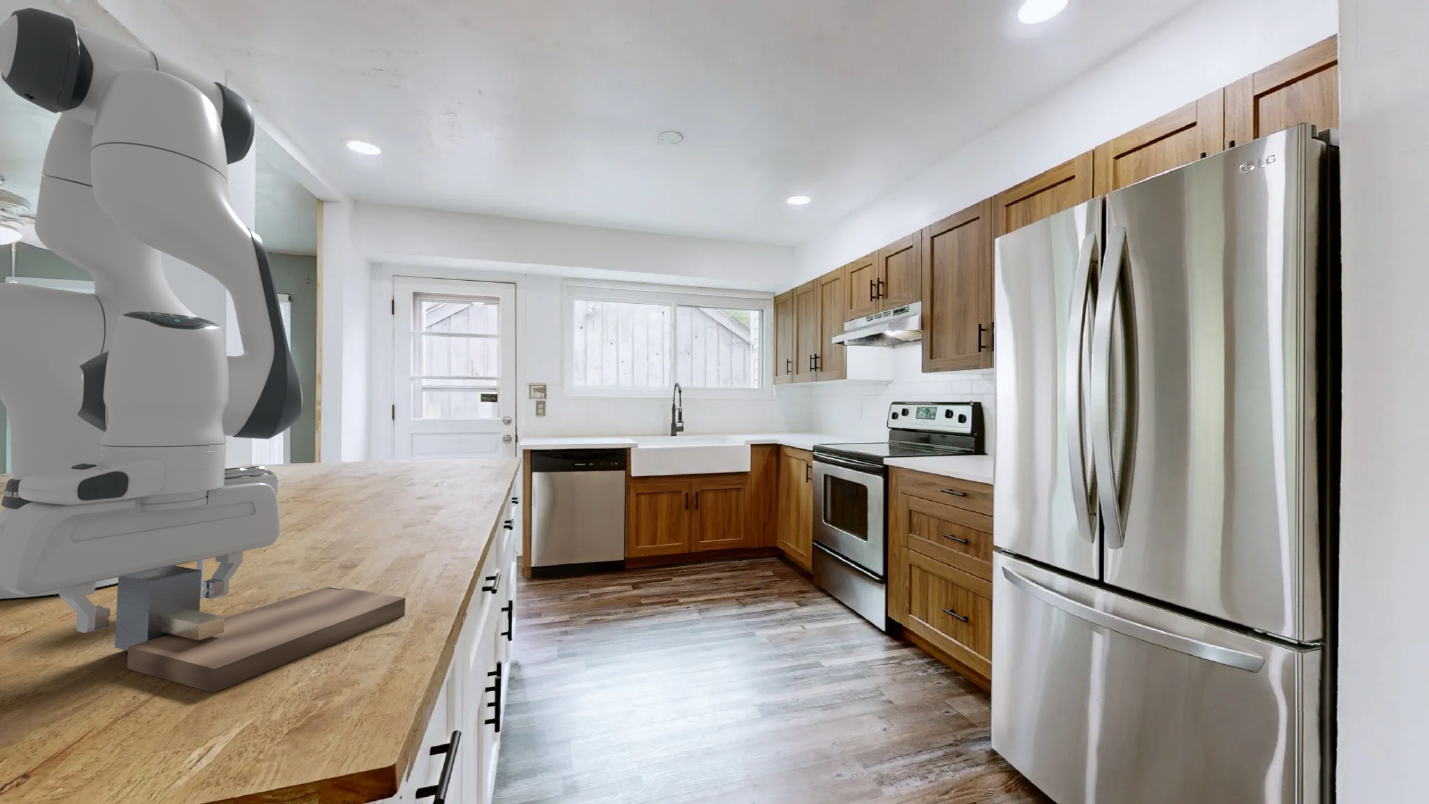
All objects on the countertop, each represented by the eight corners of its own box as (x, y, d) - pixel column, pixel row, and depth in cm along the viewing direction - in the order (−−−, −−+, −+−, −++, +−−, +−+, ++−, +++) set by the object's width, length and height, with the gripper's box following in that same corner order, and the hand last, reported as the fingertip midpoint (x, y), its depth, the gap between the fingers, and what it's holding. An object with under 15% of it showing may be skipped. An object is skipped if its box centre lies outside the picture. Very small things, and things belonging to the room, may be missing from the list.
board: (127, 668, 49) (128, 645, 49) (330, 601, 67) (331, 584, 68) (213, 692, 46) (214, 667, 46) (404, 614, 64) (405, 596, 64)
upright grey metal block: (114, 647, 52) (118, 575, 53) (167, 631, 56) (170, 564, 56) (184, 665, 49) (187, 588, 49) (234, 647, 53) (237, 576, 53)
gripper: (259, 463, 65) (254, 578, 65) (-11, 482, 45) (-20, 647, 45) (296, 465, 63) (291, 584, 63) (31, 487, 43) (22, 660, 43)
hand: (159, 611), depth 54 cm, fingers open, 8 cm apart
